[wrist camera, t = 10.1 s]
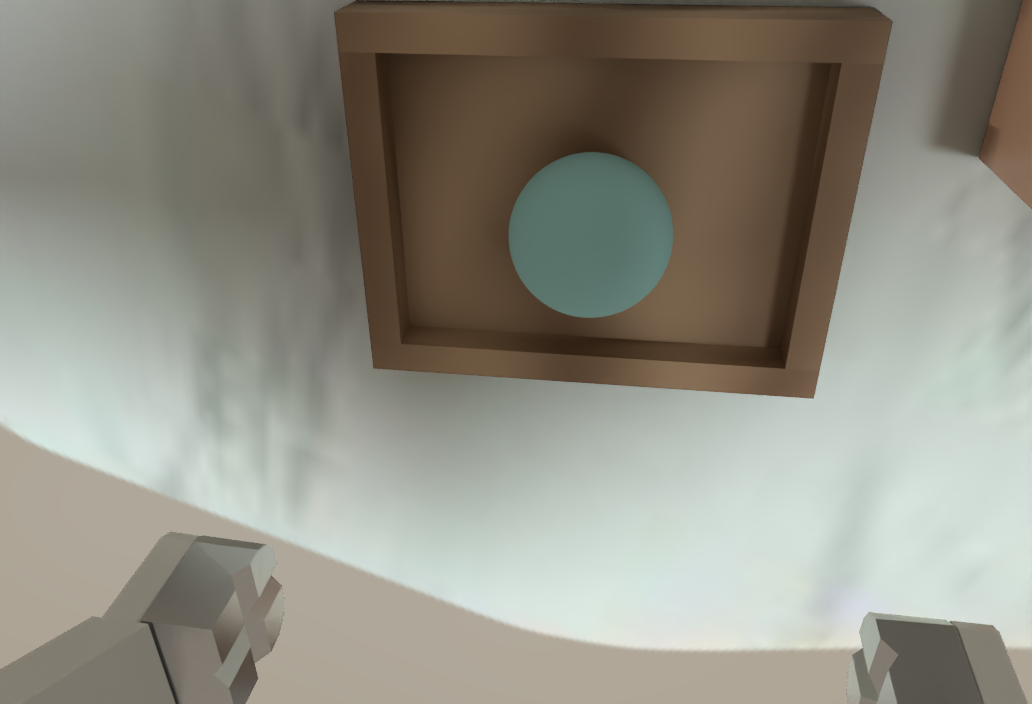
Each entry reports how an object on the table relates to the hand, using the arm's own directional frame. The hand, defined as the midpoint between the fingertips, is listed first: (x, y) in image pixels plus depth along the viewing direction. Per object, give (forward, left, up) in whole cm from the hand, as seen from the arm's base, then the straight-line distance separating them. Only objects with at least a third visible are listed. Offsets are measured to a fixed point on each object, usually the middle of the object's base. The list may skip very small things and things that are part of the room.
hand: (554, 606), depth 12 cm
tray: (0, 0, -17) cm, 17 cm away
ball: (0, 0, -16) cm, 16 cm away
